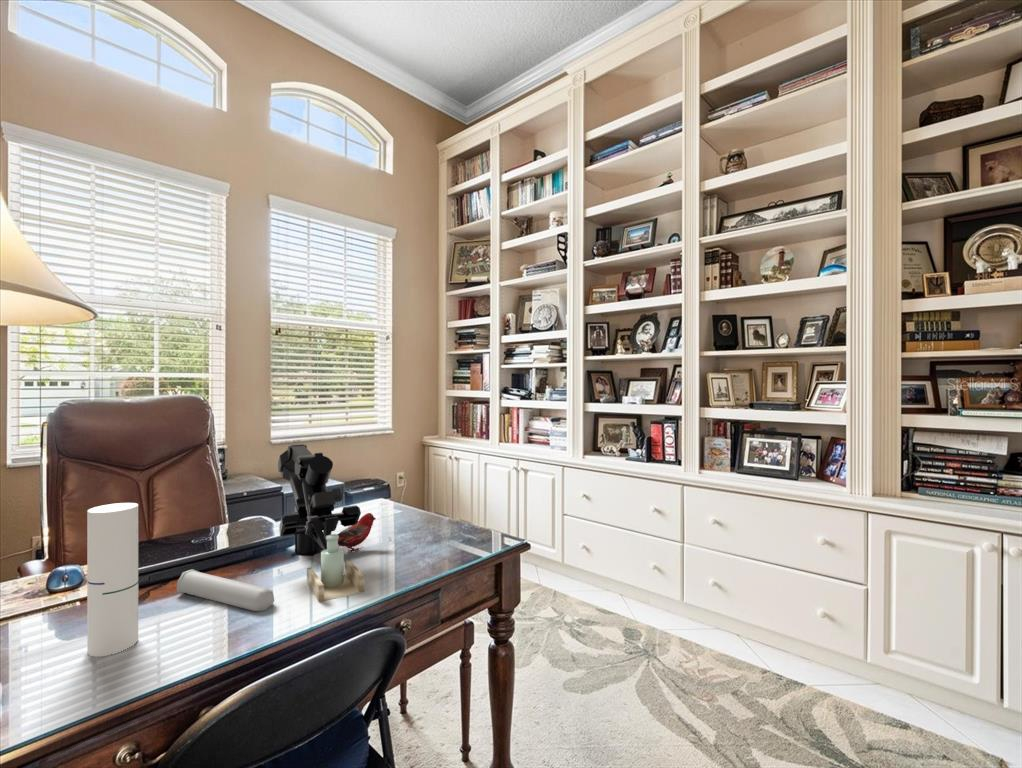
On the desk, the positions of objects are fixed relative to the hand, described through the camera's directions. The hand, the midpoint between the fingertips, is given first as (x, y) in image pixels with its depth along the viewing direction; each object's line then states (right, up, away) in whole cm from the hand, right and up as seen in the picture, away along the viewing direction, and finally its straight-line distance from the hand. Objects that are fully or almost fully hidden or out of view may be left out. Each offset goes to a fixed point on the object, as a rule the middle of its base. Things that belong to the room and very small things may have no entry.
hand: (326, 550), depth 119 cm
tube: (-17, -7, -13) cm, 22 cm away
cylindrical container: (-27, -7, -31) cm, 42 cm away
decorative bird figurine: (0, -7, +17) cm, 18 cm away
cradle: (+4, -7, -6) cm, 10 cm away
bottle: (+3, -6, -4) cm, 8 cm away
